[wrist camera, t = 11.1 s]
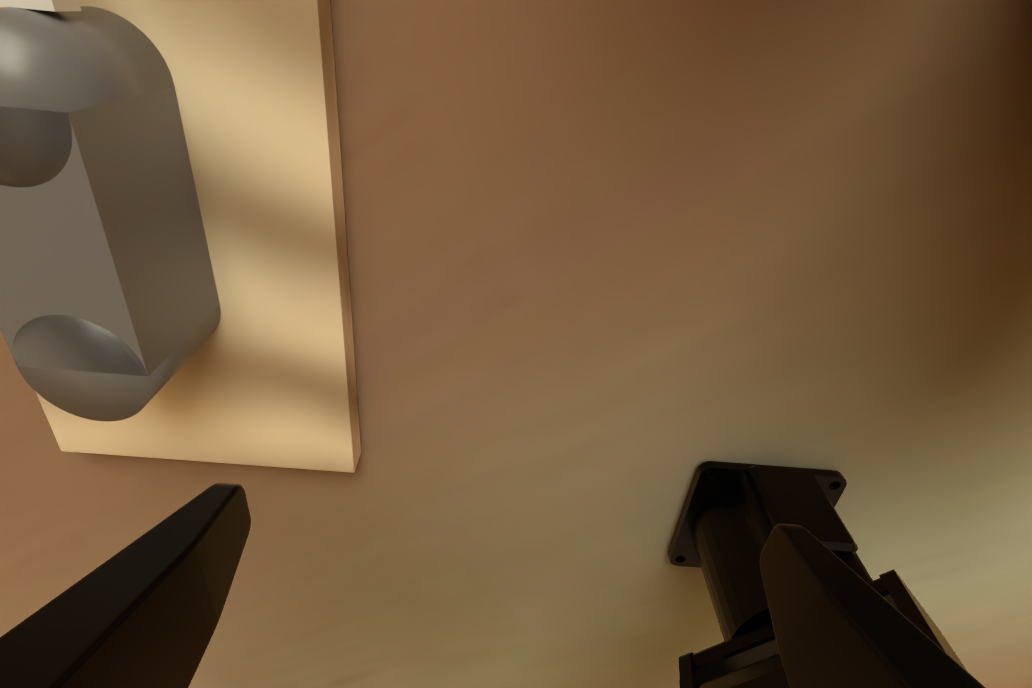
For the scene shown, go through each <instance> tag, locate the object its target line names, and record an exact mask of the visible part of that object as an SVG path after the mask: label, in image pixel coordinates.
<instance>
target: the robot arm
mask: <svg viewBox="0 0 1032 688" xmlns="http://www.w3.org/2000/svg"><path fill="white" fill-rule="evenodd" d="M709 472H712V473H710V474H707V473H709ZM846 484H847V483H846V480H845V478H844V477H843V475H842V474H841V473H840V472H838V471H833V470H820V469H806V468H793V467H780V466H767V465H754V464H741V463H728V462H715V461H708V462H704V463H702V464H701V465H699V467H698V468H697V471H696V474H695V477H694V480H693V482H692V485H691V488H690V491H689V494H688V497H687V500H686V502H685V505H684V508H683V511H682V514H681V517H680V520H679V523H678V525H677V528H676V531H675V534H674V537H673V540H672V543H671V545H670V548H669V551H668V555H669V559H670V562H671V563H672V564H673V565H676V566H687V567H701V568H702V571H703V574H704V578H705V581H706V584H707V587H708V590H709V593H710V597H711V600H712V603H713V606H714V609H715V612H716V616H717V619H718V622H719V625H720V628H721V632H722V635H723V638H724V641H725V642H722V643H720V644H717V645H715V646H712V647H710V648H707V649H705V650H702V651H700V652H698V653H695V654H693V653H692V652H691V653H688V654H686V655H683V656H681V657H679V671H680V688H985V687H984V686H983V685H982V684H981V683H979V682H978V681H977V680H976V679H975V678H974V677H973V676H972V675H970V674H969V673H968V672H967V670H966V669H965V667H964V666H963V664H962V663H961V661H960V660H959V658H958V657H957V655H956V654H955V652H954V651H953V649H952V648H951V646H950V645H949V643H948V642H947V640H946V639H945V638H944V636H943V635H942V633H941V632H940V630H939V629H938V627H937V626H936V625H935V623H934V622H933V621H932V619H931V618H930V617H929V615H928V614H927V613H926V611H925V610H924V609H923V607H922V606H921V605H920V603H919V602H918V601H917V599H916V598H915V597H914V595H913V594H912V593H911V591H910V590H909V589H908V587H907V586H906V585H905V583H904V582H903V581H902V579H901V578H900V577H899V575H898V574H897V573H896V571H895V570H894V569H893V570H891V571H888V572H886V573H884V574H881V575H879V576H880V578H879V579H877V580H874V581H873V580H872V578H871V577H870V575H869V573H868V572H867V570H866V568H865V567H864V565H863V563H862V562H861V560H860V558H859V557H858V555H857V553H856V551H857V550H858V547H857V545H856V543H855V541H854V540H853V538H852V536H851V535H850V533H849V532H848V530H847V528H846V527H845V525H844V523H843V522H842V520H841V519H840V517H839V515H838V514H837V512H836V510H835V509H834V507H835V505H836V504H837V502H838V500H839V498H840V496H841V494H842V493H843V491H844V489H845V487H846ZM250 525H251V518H250V513H249V508H248V504H247V499H246V494H245V491H244V488H243V487H242V486H241V485H239V484H228V483H217V484H214V485H212V486H211V487H209V488H208V489H206V490H205V491H204V492H202V493H201V494H199V495H198V496H197V497H195V498H194V499H192V500H191V501H190V502H188V503H187V504H185V505H184V506H183V507H181V508H180V509H179V510H177V511H176V512H174V513H173V514H172V515H170V516H169V517H167V518H166V519H165V520H163V521H162V522H160V523H159V524H158V525H156V526H155V527H153V528H152V529H151V530H149V531H148V532H146V533H145V534H144V535H142V536H141V537H140V538H138V539H137V540H135V541H134V542H133V543H131V544H130V545H128V546H127V547H126V548H124V549H123V550H121V551H120V552H119V553H117V554H116V555H114V556H113V557H112V558H110V559H109V560H108V561H106V562H105V563H103V564H102V565H101V566H99V567H98V568H96V569H95V570H94V571H92V572H91V573H89V574H88V575H87V576H85V577H84V578H82V579H81V580H80V581H78V582H77V583H75V584H74V585H73V586H71V587H70V588H69V589H67V590H66V591H64V592H63V593H62V594H60V595H59V596H57V597H56V598H55V599H53V600H52V601H50V602H49V603H48V604H46V605H45V606H43V607H42V608H41V609H39V610H38V611H36V612H35V613H34V614H32V615H31V616H30V617H28V618H27V619H25V620H24V621H23V622H21V623H20V624H18V625H17V626H16V627H14V628H13V629H11V630H10V631H9V632H7V633H6V634H4V635H3V636H2V637H0V688H188V687H189V685H190V683H191V680H192V678H193V676H194V674H195V672H196V670H197V668H198V665H199V663H200V661H201V659H202V657H203V655H204V652H205V650H206V648H207V646H208V644H209V642H210V640H211V637H212V635H213V633H214V631H215V628H216V626H217V624H218V621H219V618H220V616H221V613H222V610H223V608H224V605H225V602H226V599H227V596H228V593H229V590H230V587H231V584H232V581H233V578H234V575H235V573H236V570H237V567H238V564H239V561H240V558H241V555H242V552H243V549H244V546H245V543H246V540H247V537H248V534H249V531H250Z"/></svg>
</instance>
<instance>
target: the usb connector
mask: <svg viewBox="0 0 1032 688" xmlns="http://www.w3.org/2000/svg"><path fill="white" fill-rule="evenodd" d="M0 6H4V7H0V329H1V331H2V334H3V336H4V338H5V340H6V343H7V345H8V347H9V349H10V351H11V354H12V356H13V358H14V360H15V363H16V365H17V367H18V369H19V371H20V373H21V374H22V376H23V377H24V379H25V380H26V381H27V383H28V384H29V385H30V386H31V387H32V388H33V389H34V390H35V391H36V392H37V393H38V394H39V395H40V396H42V397H43V398H44V399H45V400H47V401H48V402H50V403H51V404H53V405H54V406H56V407H58V408H60V409H62V410H64V411H66V412H68V413H70V414H73V415H75V416H78V417H82V418H85V419H89V420H95V421H108V422H110V421H119V420H124V419H127V418H130V417H132V416H134V415H136V414H137V413H138V412H140V411H141V410H142V409H143V408H144V407H145V406H146V405H147V403H148V402H149V401H150V400H151V399H152V398H153V397H154V396H155V395H156V394H157V393H158V392H159V391H160V390H161V388H162V387H163V386H164V385H165V384H166V383H167V382H168V381H169V380H170V379H171V378H172V377H173V376H174V375H175V373H176V372H177V371H178V370H179V369H180V368H181V367H182V366H183V365H184V364H185V363H186V362H187V361H188V359H189V358H190V357H191V356H192V355H193V354H194V353H195V352H196V351H197V350H198V349H199V348H200V347H201V346H202V344H203V343H204V342H205V341H206V340H207V339H208V338H209V337H210V336H211V335H212V334H213V333H214V331H215V330H216V328H217V327H218V324H219V322H220V316H221V309H220V303H219V298H218V293H217V288H216V284H215V279H214V274H213V269H212V264H211V260H210V255H209V250H208V245H207V240H206V235H205V231H204V226H203V221H202V216H201V211H200V206H199V202H198V197H197V192H196V187H195V182H194V178H193V173H192V168H191V163H190V158H189V153H188V149H187V144H186V139H185V134H184V129H183V124H182V120H181V115H180V110H179V105H178V100H177V96H176V91H175V86H174V82H173V79H172V76H171V73H170V70H169V68H168V66H167V64H166V62H165V60H164V58H163V57H162V55H161V53H160V52H159V50H158V49H157V48H156V46H155V45H154V44H153V43H152V41H151V40H150V39H149V38H148V37H147V36H146V35H145V34H144V33H143V32H142V31H141V30H140V29H138V28H137V27H136V26H135V25H133V24H132V23H131V22H129V21H128V20H126V19H125V18H123V17H121V16H119V15H117V14H115V13H113V12H111V11H108V10H105V9H101V8H97V7H91V6H80V4H79V0H0Z"/></svg>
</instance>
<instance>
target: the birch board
mask: <svg viewBox="0 0 1032 688" xmlns="http://www.w3.org/2000/svg"><path fill="white" fill-rule="evenodd" d="M79 4H80V6H91V7H97V8H101V9H105V10H108V11H111V12H113V13H115V14H117V15H119V16H121V17H123V18H125V19H126V20H128V21H129V22H131V23H132V24H133V25H135V26H136V27H137V28H138V29H140V30H141V31H142V32H143V33H144V34H145V35H146V36H147V37H148V38H149V39H150V40H151V41H152V43H153V44H154V45H155V46H156V48H157V49H158V50H159V52H160V53H161V55H162V57H163V58H164V60H165V62H166V64H167V66H168V68H169V70H170V73H171V76H172V79H173V82H174V86H175V91H176V96H177V100H178V105H179V110H180V115H181V120H182V124H183V129H184V134H185V139H186V144H187V149H188V153H189V158H190V163H191V168H192V173H193V178H194V182H195V187H196V192H197V197H198V202H199V206H200V211H201V216H202V221H203V226H204V231H205V235H206V240H207V245H208V250H209V255H210V260H211V264H212V269H213V274H214V279H215V284H216V288H217V293H218V298H219V303H220V309H221V316H220V322H219V324H218V327H217V328H216V330H215V331H214V333H213V334H212V335H211V336H210V337H209V338H208V339H207V340H206V341H205V342H204V343H203V344H202V346H201V347H200V348H199V349H198V350H197V351H196V352H195V353H194V354H193V355H192V356H191V357H190V358H189V359H188V361H187V362H186V363H185V364H184V365H183V366H182V367H181V368H180V369H179V370H178V371H177V372H176V373H175V375H174V376H173V377H172V378H171V379H170V380H169V381H168V382H167V383H166V384H165V385H164V386H163V387H162V388H161V390H160V391H159V392H158V393H157V394H156V395H155V396H154V397H153V398H152V399H151V400H150V401H149V402H148V403H147V405H146V406H145V407H144V408H143V409H142V410H141V411H140V412H138V413H137V414H136V415H134V416H132V417H130V418H127V419H124V420H119V421H110V422H108V421H95V420H89V419H85V418H82V417H78V416H75V415H73V414H70V413H68V412H66V411H64V410H62V409H60V408H58V407H56V406H54V405H53V404H51V403H50V402H48V401H47V400H45V399H44V398H43V397H42V396H40V395H39V394H38V393H37V392H36V393H37V396H38V398H39V400H40V403H41V405H42V407H43V410H44V412H45V414H46V417H47V419H48V421H49V424H50V426H51V428H52V430H53V433H54V435H55V437H56V440H57V442H58V444H59V447H60V449H61V451H69V452H82V453H96V454H109V455H123V456H136V457H150V458H163V459H177V460H190V461H204V462H217V463H231V464H244V465H258V466H271V467H285V468H298V469H312V470H326V471H339V472H353V473H354V472H355V469H356V466H357V463H358V460H359V458H360V455H361V444H360V429H359V414H358V400H357V385H356V370H355V356H354V341H353V326H352V311H351V297H350V282H349V267H348V253H347V238H346V223H345V209H344V194H343V179H342V164H341V150H340V135H339V120H338V106H337V91H336V76H335V62H334V47H333V32H332V17H331V3H330V0H79ZM0 7H4V6H0Z"/></svg>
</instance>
